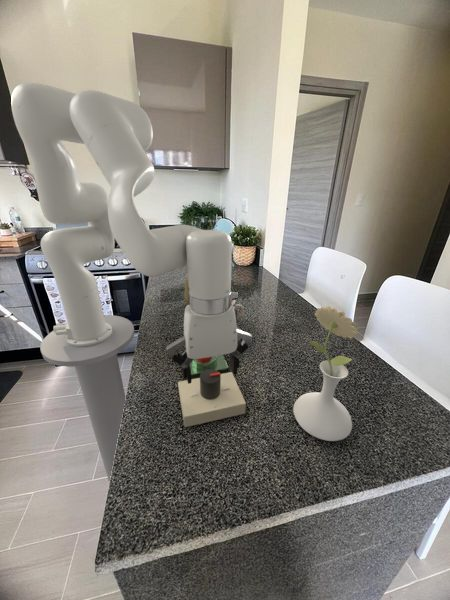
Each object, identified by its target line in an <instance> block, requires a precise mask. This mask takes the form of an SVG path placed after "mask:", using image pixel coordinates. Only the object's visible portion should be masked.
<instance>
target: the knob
mask: <svg viewBox="0 0 450 600" xmlns="http://www.w3.org/2000/svg"><path fill="white" fill-rule="evenodd" d="M220 383H221V375H220V372H218V371H217V370H214V369H207V370H204V371H203V372H202V373H201V374H200V394H201V396H202V397H203V398H205V399H209V400H211V399H215V398H217V397H218V396H219V395H220Z"/></svg>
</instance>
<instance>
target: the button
mask: <svg viewBox="0 0 450 600" xmlns="http://www.w3.org/2000/svg"><path fill="white" fill-rule="evenodd" d="M210 359H211V357H206V358H200V359H198V360H199V361H208V360H210Z"/></svg>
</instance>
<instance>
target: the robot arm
mask: <svg viewBox="0 0 450 600" xmlns="http://www.w3.org/2000/svg"><path fill="white" fill-rule="evenodd" d="M10 104H11V112H12V113H11V114H12V117H13V121H14V125H15V127H16V129H17V131H18V134H19V136H20V138H21V141H22V143H23V144H24V147H25V148H26V151H27V153H28V156H29V158H30V162H31V167H32V173H33V177H34V181H35V182H34V183H35V188H36V192H37V196H38V201H39V206H40V209H41V212H42V214H43V217H44V218H45V219H46V221H48V222H49V223H51V224H54V225H60V226H64V225H65V226H67V225H76V224H84V223H87V225H83V226H75V227H65V228H59V229H54V230H50V231H49V232H47V233H45V234H44V235H43V236H42V238H40V248H41V252H42V254H43V256H44V258H45V260H46V262H47V264H48V266H49V268H50V270H51V273H52V275H53V279H54V281H55V284H56V287H57V291H58V294H59V297H60V300H61V304H62V308H63V310H64V314H65V318H66V323H65V324H66V325H64V324H58V325H53V330H52V331H54V332H56V335H62V334H65V335H66V341H67V343H68V344H69V345H71V346H75V347H85V346H91V345H95V344H98V343H100V342H102V341H104V340H106V339H107V338H108V337H109V336H110V335H111V334H112V326H111V325H110V324H108V323H105V319H104V315H105V314H104V311H103V306H102V301H101V296H100V291H99V286H98V282H97V279H96V277H95V275H94V274H93V273H92V272H91V271H90V270H88V269H87V268H86V267H85V264H89V263H93V262H97V261H100V260H104V259H107V258H109V257H111V256H112V255H113V253H114V251H115V246H116V245H115V243H117V246H119V248H120V249H121V251H122V253H123V254H124V256H125V258H126V259H127V260H128V262H129V264H130V265H131V266H132V267H133V268H134V269H135V270H136V271H137V272H138V273H139V274H141V275H143V276H145V277H149V278H150V277H152V278H155V277H160V276H162V275H165V274H167V273H170V272H173V271H176V270H179V269H182V268H186V270H187V276H188V288H189V305H187V304H186V306H185V308H184V313H183V314H184V315H183V335H182V336H181V337H180V338H178V339H176V340H174V341H173V342H171V343H170V344H168V345H166V346H165V352H166V354H167V355H168V356H169V357H170V358H171V359H172V361H173V362H174V363H175V364H178V365H179V366H181V369H182V377H183V379H185V378H187V381H188V384H190V383H192V381H191V368H190V363H191V362H192V361H193V360H194V359H200V358H206V357H212V356H218V355H223V356H224V355H228V354H229V369H230V370H231V372H232V374H233V376H236V375H238V369H239V368H240V360H241V358H242V357H243V354H244V353H245V352H246V351H247V350H248V349H249V345H250V344H251V342H252V341H253V339H254V337H253V335H252V334H251V332H247V331H243V330H242V329H241V330H242V331H241V330H238V329H237V326H238V324H237V325H236V317H235V311H234V307H233V304H232V300H234V299H235V300H238V299H239V294H238V292H236V291H232V254H233V253H232V252H233V251H232V247H233V246H232V245H233V244H232V243H233V242H232V238H231V236H230V234H229V233H228V232H226V231H223V230H217V229H203V228H199V227H196V226H193V225H189V224H176V225H171V226H170V225H169V226H164V227H159V228H153V229H150V228H148V226H147V224H146V223H145V222H144V220H143V219H142V217H141V215H140V213H139V211H138V209H137V207H136V203H135V200H134V198H135V197H137V196H138V195H140V194H142V193H143V192H144V191H145V190H146V189H147V188H149V186H150V185H151V184H152V182H153V180H154V179H155V175H156V171H155V167H154V166H155V165H154V163H152V161H151V159H150V158H149V156H148V155H147V153H146V151H148V150H149V149H150V147H151V146H152V143H153V138H154V130H153V125H152V122H151V120H150V117H149V116H148V114H147V112H146V111H145V110H144V109H143V108H142V107H141V106H140V105H139V104H137V103H135V102H133V101H130V100H128V99H124V98H121V97H118V96H115V95H112V94H109V93H105V92H102V91H100V90H94V89H87V90H81V91H79V92H77V93H75V92H72V91H69V90H65V89H62V88H59V87H55V86H51V85H48V84H43V83H38V82H22V83H20V84H17V85H16V86H15V87H14V89H13V91H12V94H11V103H10ZM64 142H69V143H75V144H81V145H85V147H86V148H87V150H88V152H89V154H90V155H91V157H92V158H93V160H94V162H95V163H96V165H97V167H98V168H99V170H100V172H101V173H102V175H103V177H104V178H105V180H106V181H107V183H108V186H109V187H110V190H109V194H108V192H107V191H106V190H105V188H104V187H102V186H101V185H100V184H98V183H95V182H84V181H83V182H80V179H79V171H78V165H77V161H76V160H75V157H74V156H73V154H72V153H71V151H70V150H69V148H67V146H66V144H64ZM237 338H240V343H239V344H237ZM241 339H242V341H241ZM183 347H184V348H185V350H184V351H183V352H182V353H180V352H178V350H180V349H182V348H183Z"/></svg>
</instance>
